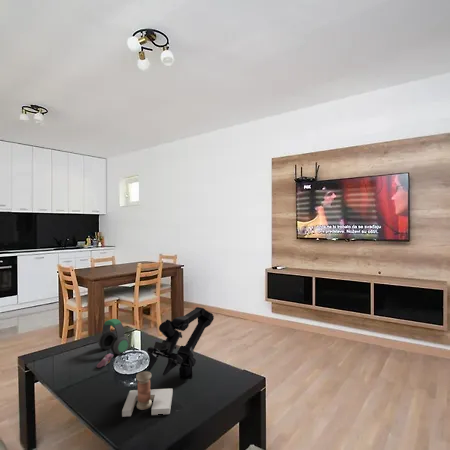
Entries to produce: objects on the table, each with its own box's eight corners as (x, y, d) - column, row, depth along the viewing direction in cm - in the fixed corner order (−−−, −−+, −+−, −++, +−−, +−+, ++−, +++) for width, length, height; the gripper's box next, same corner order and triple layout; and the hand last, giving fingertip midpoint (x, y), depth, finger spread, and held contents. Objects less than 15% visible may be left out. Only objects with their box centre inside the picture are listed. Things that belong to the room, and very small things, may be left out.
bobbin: (147, 399, 149) (147, 369, 149) (154, 405, 144) (153, 375, 144) (134, 404, 145) (133, 374, 144) (140, 411, 140) (140, 380, 139)
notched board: (172, 393, 154) (172, 388, 154) (169, 414, 138) (169, 408, 138) (130, 395, 152) (130, 390, 152) (122, 416, 136) (122, 410, 136)
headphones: (96, 350, 203) (96, 319, 203) (111, 344, 212) (111, 315, 212) (115, 358, 192) (115, 325, 192) (130, 351, 201) (130, 320, 201)
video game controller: (102, 371, 179) (107, 360, 179) (95, 367, 180) (100, 356, 179) (111, 363, 189) (116, 353, 188) (105, 359, 190) (109, 349, 189)
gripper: (149, 330, 159) (132, 361, 150) (178, 337, 150) (163, 370, 141) (159, 341, 166) (144, 370, 157) (188, 348, 157) (174, 380, 148)
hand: (155, 372), depth 151 cm, fingers open, 9 cm apart
